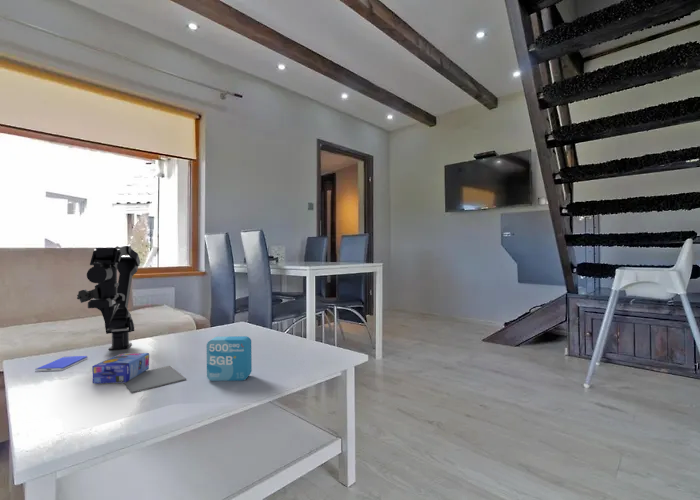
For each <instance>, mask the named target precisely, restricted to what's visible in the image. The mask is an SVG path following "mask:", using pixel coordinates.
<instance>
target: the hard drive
mask: <svg viewBox="0 0 700 500" xmlns="http://www.w3.org/2000/svg"><path fill="white" fill-rule="evenodd" d="M86 360H89V359H88V356H87V355H76V356H75V355H73V356H71V355H69V356H63V357H60V358H58V359H56V360H54V361H51V362H49V363H46V364H43V365H41V366H39V367H36V368H35V370H34V371H35V372H57V371H58V372H59V371H60V372H61V371H65V370H67V369H68V368H71V367H73V366H75V365H77V364H80V363H81V362H84V361H86Z"/></svg>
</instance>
